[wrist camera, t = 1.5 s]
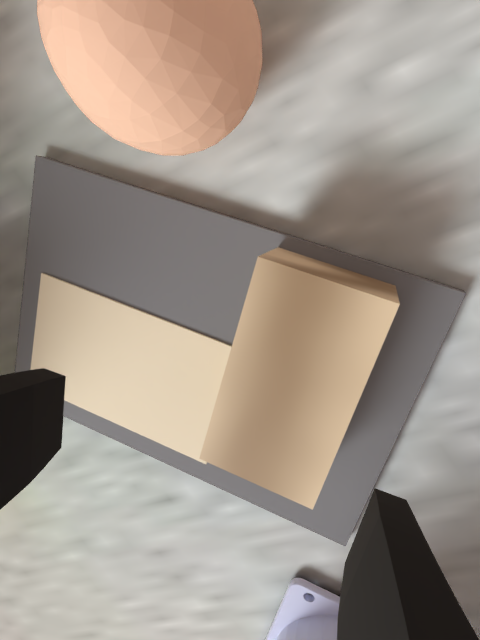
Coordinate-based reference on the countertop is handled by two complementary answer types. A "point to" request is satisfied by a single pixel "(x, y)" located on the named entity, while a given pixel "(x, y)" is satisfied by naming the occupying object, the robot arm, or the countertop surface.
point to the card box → (296, 372)
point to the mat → (194, 330)
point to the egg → (156, 67)
